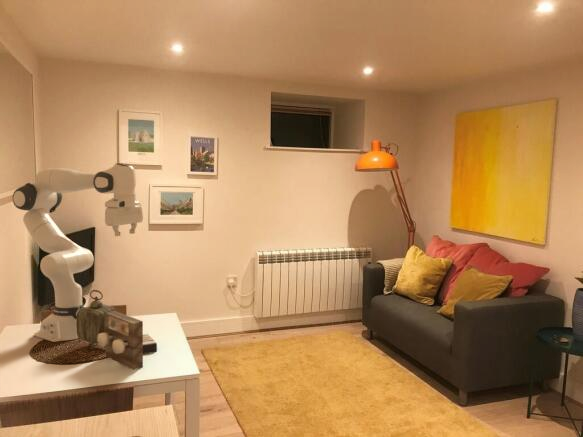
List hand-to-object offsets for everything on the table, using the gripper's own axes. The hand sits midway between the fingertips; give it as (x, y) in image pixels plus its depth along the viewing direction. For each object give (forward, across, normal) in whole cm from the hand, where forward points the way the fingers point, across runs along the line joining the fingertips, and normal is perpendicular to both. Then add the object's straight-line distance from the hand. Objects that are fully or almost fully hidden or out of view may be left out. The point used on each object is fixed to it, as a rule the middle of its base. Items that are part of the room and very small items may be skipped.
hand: (125, 234), depth 203 cm
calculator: (+49, 0, +7) cm, 49 cm away
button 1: (+42, +16, +5) cm, 45 cm away
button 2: (+42, +20, +15) cm, 49 cm away
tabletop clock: (+48, +8, -9) cm, 50 cm away
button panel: (+48, +15, +11) cm, 52 cm away
